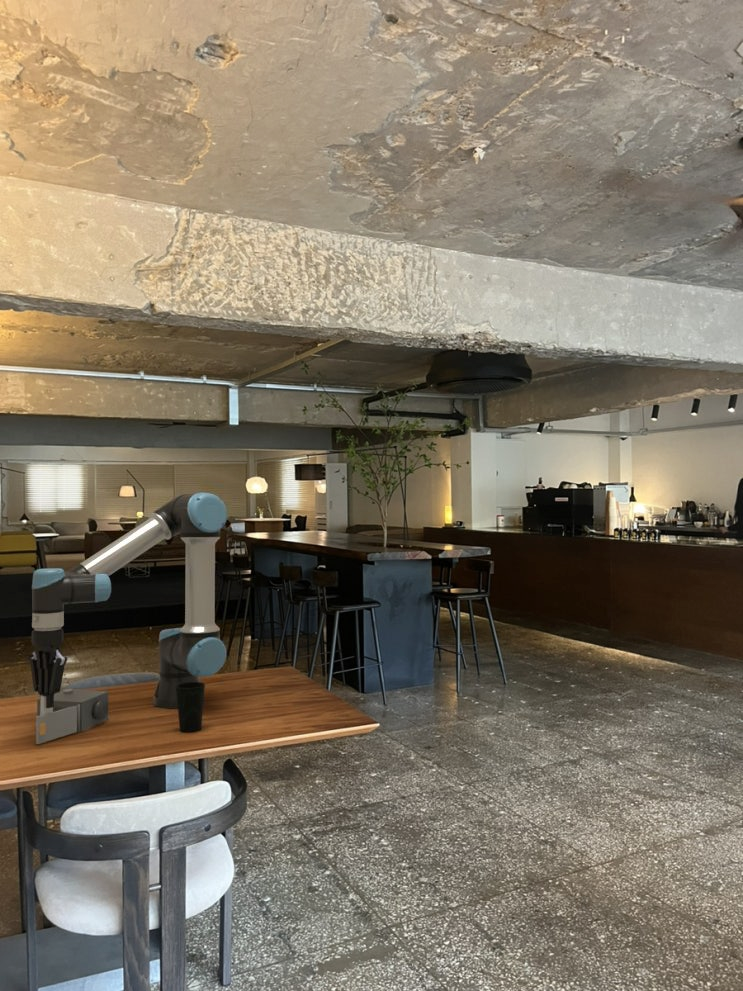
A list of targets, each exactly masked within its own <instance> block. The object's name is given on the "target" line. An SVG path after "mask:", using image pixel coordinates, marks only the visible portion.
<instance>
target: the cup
mask: <svg viewBox="0 0 743 991" xmlns="http://www.w3.org/2000/svg"><path fill="white" fill-rule="evenodd" d="M205 684H206V683H204V682H201V681H200V682H186V683H181V684H178V685H176V695H177V705H178V708H177V714H178V723H179V732H181V733H186V734H190V733H191V734H192V733H197V732H199V731H201V730H202V722H203V714H204V713H203V712H204V711H203V709H204V701H205V688H206V687H205V686H206V685H205Z"/></svg>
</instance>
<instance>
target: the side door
mask: <svg viewBox="0 0 743 991" xmlns="http://www.w3.org/2000/svg"><path fill="white" fill-rule="evenodd" d="M75 733H78V732H77V706H73V707H69V708H65V709H62V710H58V711H55V712H51V713H48V714H44V715H40V716H37V715H36V717H35V744H37V745H39V744H43V743H46V742H49V741H52V740H56V739H59V738H62V737H65V736H68V735H71V734H75Z"/></svg>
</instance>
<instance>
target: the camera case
mask: <svg viewBox="0 0 743 991" xmlns="http://www.w3.org/2000/svg"><path fill="white" fill-rule="evenodd" d="M36 701H37V703H36V706H37V707H36V710H37V711H36V717H37V716H40V698H39V699H36ZM73 706H77V732H76V733H83V732H85V731H88V730H91V728H94V727H96V726H98V725H101V724H102V723H105V722H107V721H109V691H104V690H103V691H101V690H100V691H99V690H85V689H83V690H80V689H73V688H65V689H62V690H60V692H58V693H55V694H54V706H53V712H55V711H58V710H62V709H65V708H69V707H73Z"/></svg>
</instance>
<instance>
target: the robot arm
mask: <svg viewBox="0 0 743 991" xmlns="http://www.w3.org/2000/svg"><path fill="white" fill-rule="evenodd" d="M227 510H228V509H227V506H226V505H225V503H224V501H223V500H222V499H221V498H220V497H219V496H217V495H216V494H214V493H209V492H197V493H196V492H195V493H183V494H180V495H178V496H175V497H174V498H172V499H171V500H169V501H168V502H166V503H165V504H163V505H162V506H161V507H158V508H157V509H156V510H155V511H153V512H151V513H150V515H149V518H148V519H147V520H146V521H144V522H142V523H141V524H139V525H137V526H136V527H134V528H133V529H131V530H130V531H128V532H127V533H125V534H124V535H122V536H120V537H119V538H117V539H116V540H114V541H112V542H111V543H110V544H108V545H106V547H104V548H102V549H100V550H99V551H97V552H96V553H95V554H93V555H91V556H90V557H89V558H87V559H85V560H83V561H82V562H80V563H79V564H78V565H76V566H74V567H73V568H71V569H70V570H66V571H64V569H63V568H53V567H52V568H38V569H36V570H34V571H33V574H32V584H31V590H32V591H31V593H32V598H31V599H32V604H31V605H32V608H31V609H32V617H31V618H32V619H31V621H32V622H31V627H32V629H33V630H32V631H31V644H32V645H33V646H35V647H34V651H33V652H31V653H28V654H27V658H28V661H29V664H30V671H31V677H32V678H31V679H32V684H33V685H32V686H33V690H34V692H38V695H39V699H40V715H44V714H48V713H51V712H53V706H54V694H55V693H58V692H60V691H61V687H62V683H63V677H64V670H65V666H66V664H67V661H68V657H67V656H63V655H62V654H61V653H62V651H61V647H60V646H61V644H62V643H63V642H64V629H63V628H62V627H64V625H65V623H64V622H65V621H64V620H65V618H64V616H65V615H64V613H65V609H64V607H65V605H70V604H82V603H83V604H85V603H98V602H99V603H100V602H104V601H105V602H106V601H107V600H108V599H109V598H110V596H111V593H112V583H111V582H112V581H111V579H110V577H109V576H111V575H112V574H114V573H115V572H117V571H118V570H120V569H121V568H122V567H125V566H126V565H127V564H129V563H130V562H132V561H133V560H135V559H137V557H139V556H141V555H142V554H144V553H145V552H147V551H149V549H151V548H152V547H154V546H155V545H157V544H159V543H160V542H161V541H163V540H168V541H169V540H170V539H172V538H173V537H175V536H177V535H180V539H181V540H182V541H183V542H184V544H185V588H184V589H185V593H184V594H185V597H184V598H185V603H184V604H185V605H184V606H185V607H184V608H185V609H184V610H185V612H184V614H185V615H184V617H185V618H184V622H185V623H184V625H183V626H182V627H175V628H165V629H163V630H161V631H160V632H159V637H158V655H159V656H158V657H159V658H158V660H159V661H158V662H159V664H158V666H159V670H158V671H159V672H158V673H159V674H158V675H159V679H158V682H157V685H156V689H155V691H154V695H153V705H154V706H156V707H158V708H165V709H166V708H167V709H178V705H177V695H176V685H178V684H181V683H186V682H201V680H200V679H199V677H202V678H204V677H205V678H207V677H211V676H214V675H216V673H218V672H219V671H220V669H221V668H223V666H224V664H225V661H226V659H227V647H226V645H225V644H224V643H223V641H222V640H221V637H220V635H221V629H220V627H219V626H218V624H216V622H215V621H216V620H215V619H216V618H215V616H216V615H215V613H216V611H215V610H216V609H215V604H216V601H215V600H216V599H215V598H216V597H215V596H216V593H215V591H216V590H215V589H216V585H215V584H216V581H215V579H216V578H215V577H216V576H215V575H216V574H215V573H216V572H215V571H216V543H217V542H218V541H219V540H220V538H221V529H222V528H223V527H224V526H225V524H226V523H227V518H228V511H227Z"/></svg>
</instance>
